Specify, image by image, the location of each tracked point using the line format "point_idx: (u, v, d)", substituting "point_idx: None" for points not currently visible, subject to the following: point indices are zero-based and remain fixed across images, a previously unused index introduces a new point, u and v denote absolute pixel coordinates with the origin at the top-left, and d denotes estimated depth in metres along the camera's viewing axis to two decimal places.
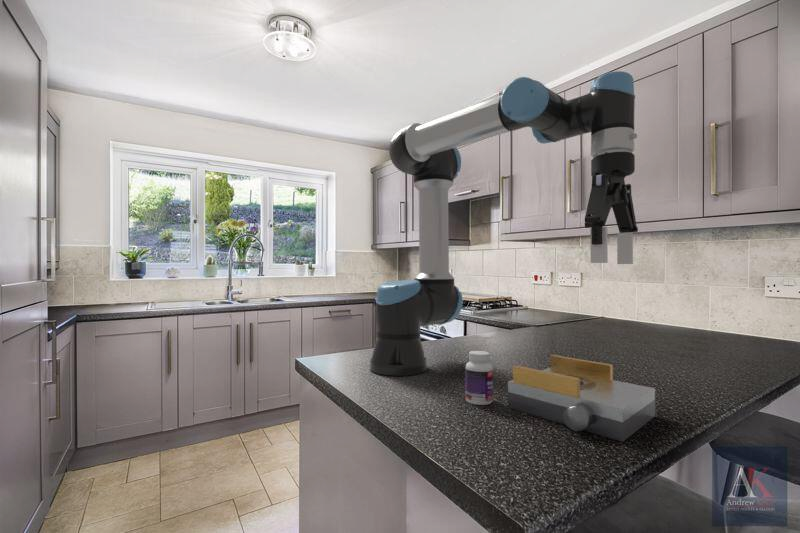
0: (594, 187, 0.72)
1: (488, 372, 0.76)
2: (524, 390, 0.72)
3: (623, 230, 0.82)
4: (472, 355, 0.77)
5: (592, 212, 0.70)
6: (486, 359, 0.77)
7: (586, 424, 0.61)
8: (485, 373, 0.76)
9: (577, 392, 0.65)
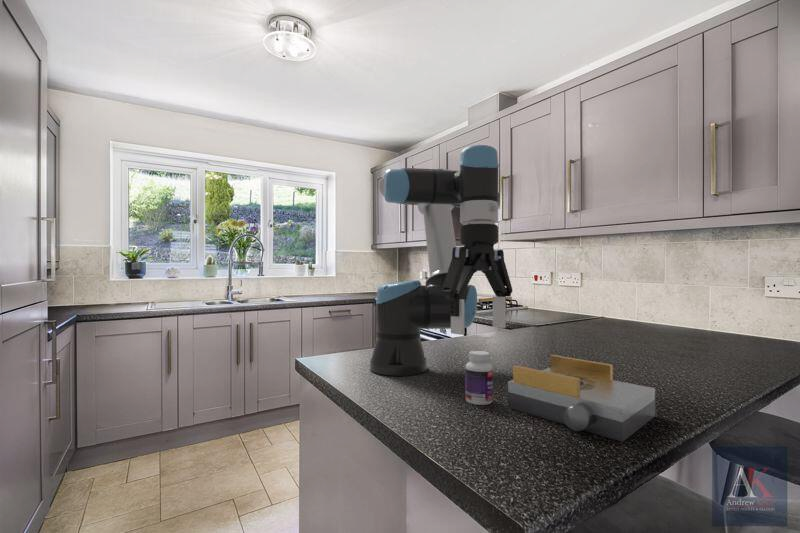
0: (453, 259, 0.74)
1: (488, 372, 0.76)
2: (524, 390, 0.72)
3: (498, 294, 0.83)
4: (472, 355, 0.77)
5: (447, 286, 0.72)
6: (486, 359, 0.77)
7: (586, 424, 0.61)
8: (485, 373, 0.76)
9: (577, 392, 0.65)
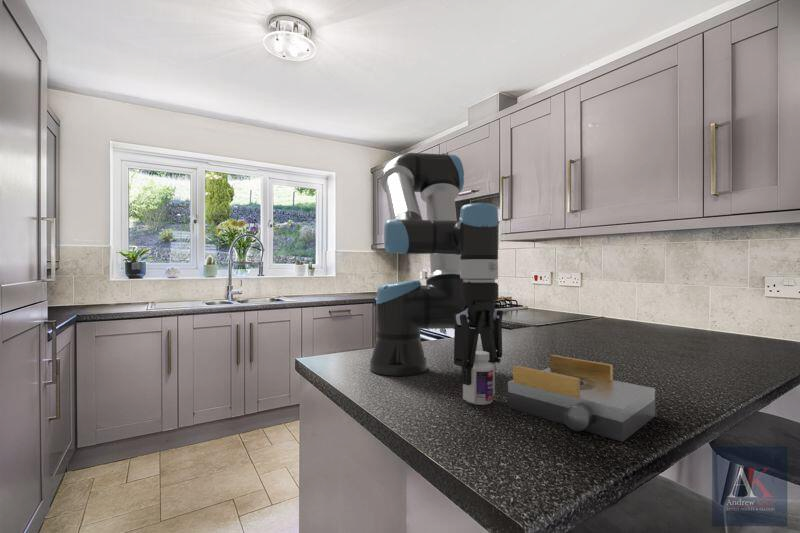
0: (456, 327, 0.75)
1: (488, 372, 0.76)
2: (524, 390, 0.72)
3: None
4: None
5: (458, 357, 0.74)
6: (486, 359, 0.77)
7: (586, 424, 0.61)
8: (485, 373, 0.76)
9: (577, 392, 0.65)
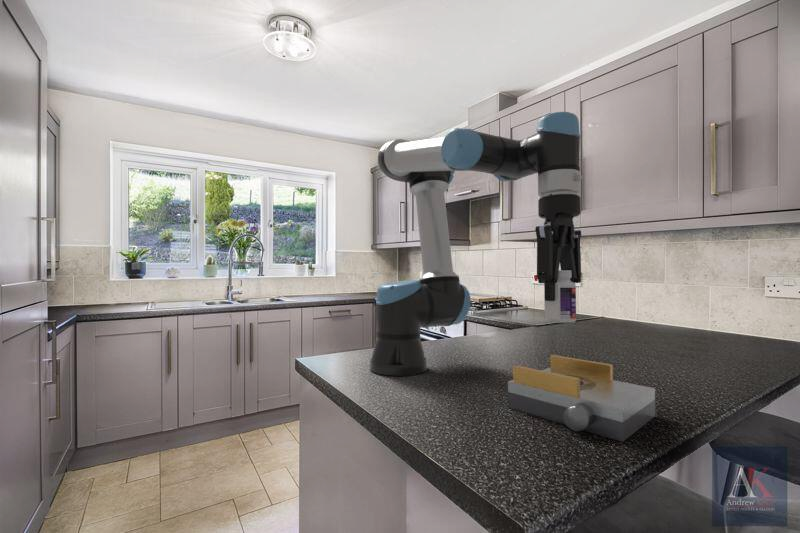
0: (539, 240, 0.71)
1: (572, 288, 0.72)
2: (524, 390, 0.72)
3: None
4: None
5: (542, 270, 0.70)
6: (569, 275, 0.73)
7: (586, 424, 0.61)
8: (569, 289, 0.72)
9: (577, 392, 0.65)
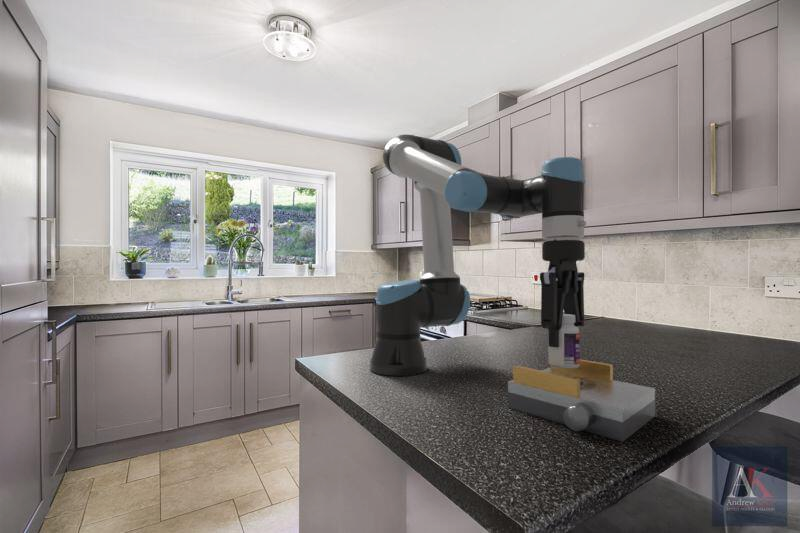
0: (544, 286, 0.71)
1: (576, 334, 0.72)
2: (524, 390, 0.72)
3: None
4: None
5: (547, 317, 0.70)
6: (573, 321, 0.73)
7: (586, 424, 0.61)
8: (573, 335, 0.72)
9: (577, 392, 0.65)
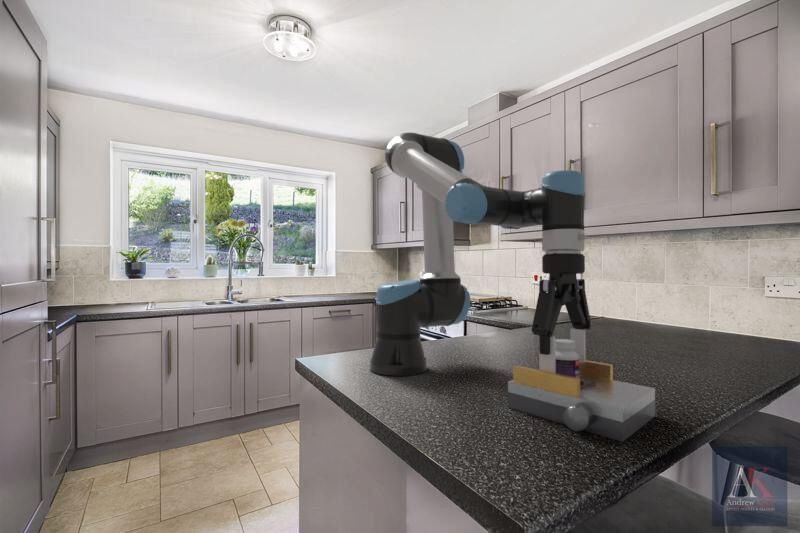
0: (541, 293, 0.71)
1: (575, 361, 0.72)
2: (524, 390, 0.72)
3: (576, 326, 0.79)
4: (558, 343, 0.74)
5: (539, 323, 0.69)
6: (573, 347, 0.73)
7: (586, 424, 0.61)
8: (573, 361, 0.72)
9: (577, 392, 0.65)
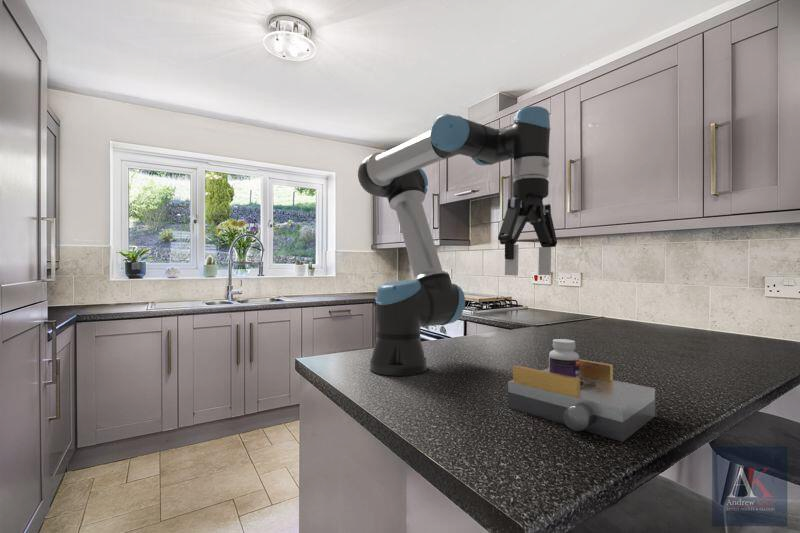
0: (509, 209, 0.83)
1: (575, 361, 0.72)
2: (524, 390, 0.72)
3: (544, 245, 0.92)
4: (558, 343, 0.74)
5: (504, 231, 0.81)
6: (573, 347, 0.73)
7: (586, 424, 0.61)
8: (573, 361, 0.72)
9: (577, 392, 0.65)
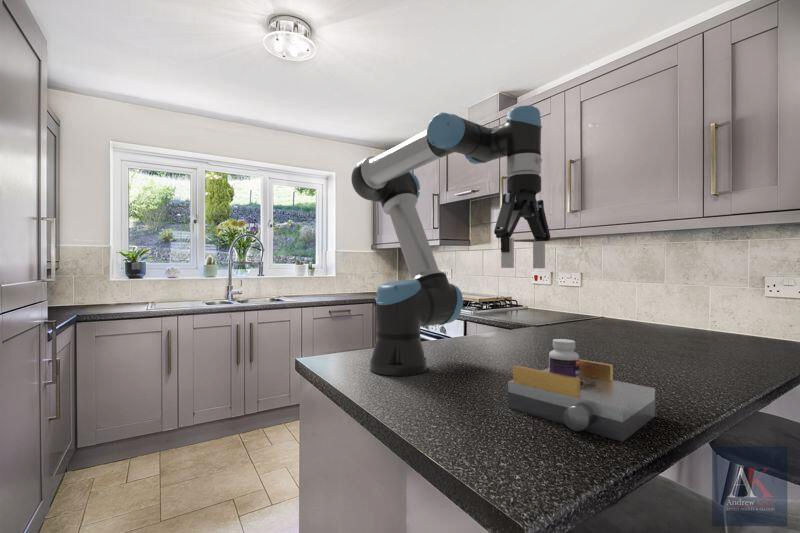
0: (504, 204, 0.86)
1: (575, 361, 0.72)
2: (524, 390, 0.72)
3: (538, 239, 0.95)
4: (558, 343, 0.74)
5: (500, 225, 0.84)
6: (573, 347, 0.73)
7: (586, 424, 0.61)
8: (573, 361, 0.72)
9: (577, 392, 0.65)
